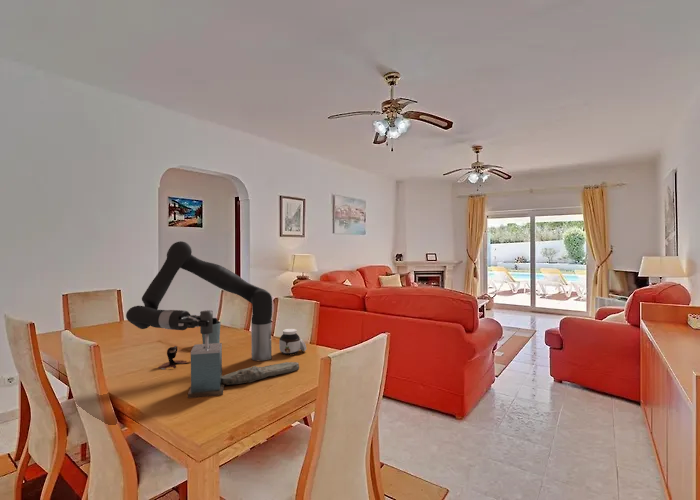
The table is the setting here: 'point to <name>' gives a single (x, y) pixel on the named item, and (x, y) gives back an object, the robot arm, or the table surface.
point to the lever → (207, 330)
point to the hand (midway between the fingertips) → (212, 322)
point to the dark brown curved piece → (171, 359)
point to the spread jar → (291, 342)
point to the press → (206, 371)
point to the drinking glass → (213, 334)
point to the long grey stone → (258, 373)
